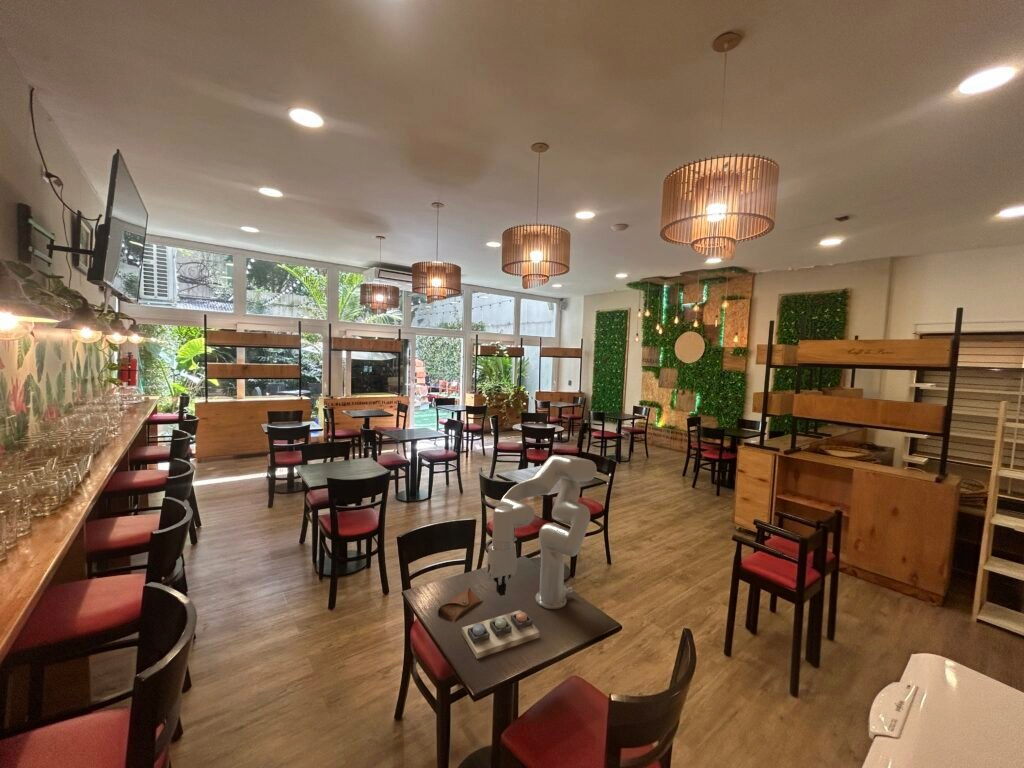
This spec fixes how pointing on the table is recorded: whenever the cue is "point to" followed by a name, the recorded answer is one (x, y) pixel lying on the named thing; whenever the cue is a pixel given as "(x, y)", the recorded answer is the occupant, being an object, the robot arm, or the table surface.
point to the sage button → (500, 623)
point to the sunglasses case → (459, 605)
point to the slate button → (478, 630)
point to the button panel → (500, 635)
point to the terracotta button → (521, 617)
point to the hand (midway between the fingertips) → (501, 593)
